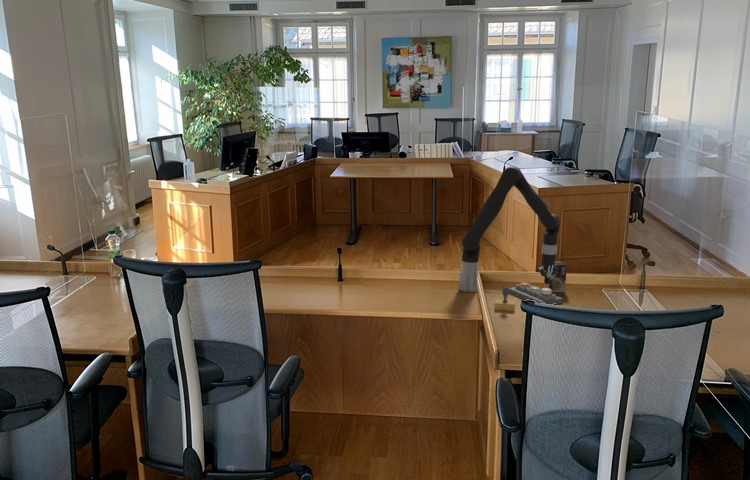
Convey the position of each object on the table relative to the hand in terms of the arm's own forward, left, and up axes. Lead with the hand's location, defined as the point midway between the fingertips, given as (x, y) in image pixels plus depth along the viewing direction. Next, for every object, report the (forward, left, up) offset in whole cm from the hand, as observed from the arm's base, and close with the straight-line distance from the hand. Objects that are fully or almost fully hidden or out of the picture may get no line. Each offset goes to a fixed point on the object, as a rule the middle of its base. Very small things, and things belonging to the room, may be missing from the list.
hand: (546, 283), depth 329 cm
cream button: (-1, -1, -6) cm, 6 cm away
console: (-1, +7, -10) cm, 13 cm away
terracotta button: (-1, +15, -7) cm, 17 cm away
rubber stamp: (-27, +2, -11) cm, 29 cm away
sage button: (-1, +7, -7) cm, 10 cm away
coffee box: (+18, +10, -10) cm, 24 cm away
